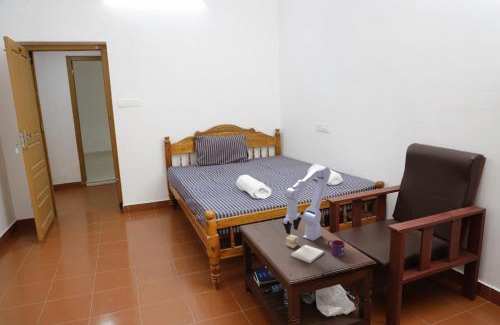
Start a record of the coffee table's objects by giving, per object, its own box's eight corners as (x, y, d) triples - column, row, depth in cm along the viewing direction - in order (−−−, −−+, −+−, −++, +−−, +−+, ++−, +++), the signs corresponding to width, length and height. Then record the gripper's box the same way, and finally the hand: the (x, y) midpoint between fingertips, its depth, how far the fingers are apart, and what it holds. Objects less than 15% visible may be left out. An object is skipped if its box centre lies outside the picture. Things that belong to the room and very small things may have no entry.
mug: (337, 258, 179) (338, 246, 177) (324, 251, 187) (324, 239, 186) (346, 255, 182) (347, 243, 181) (333, 247, 191) (333, 236, 189)
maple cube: (291, 242, 199) (291, 234, 198) (298, 244, 196) (298, 236, 195) (286, 245, 196) (286, 237, 194) (293, 248, 192) (293, 240, 191)
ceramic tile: (305, 246, 193) (305, 244, 193) (323, 253, 185) (323, 251, 185) (291, 256, 183) (291, 254, 183) (309, 263, 175) (309, 261, 175)
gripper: (293, 204, 199) (293, 225, 202) (278, 211, 188) (278, 233, 191) (303, 206, 194) (303, 228, 197) (289, 213, 183) (289, 237, 186)
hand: (292, 231), depth 194 cm, fingers open, 7 cm apart
